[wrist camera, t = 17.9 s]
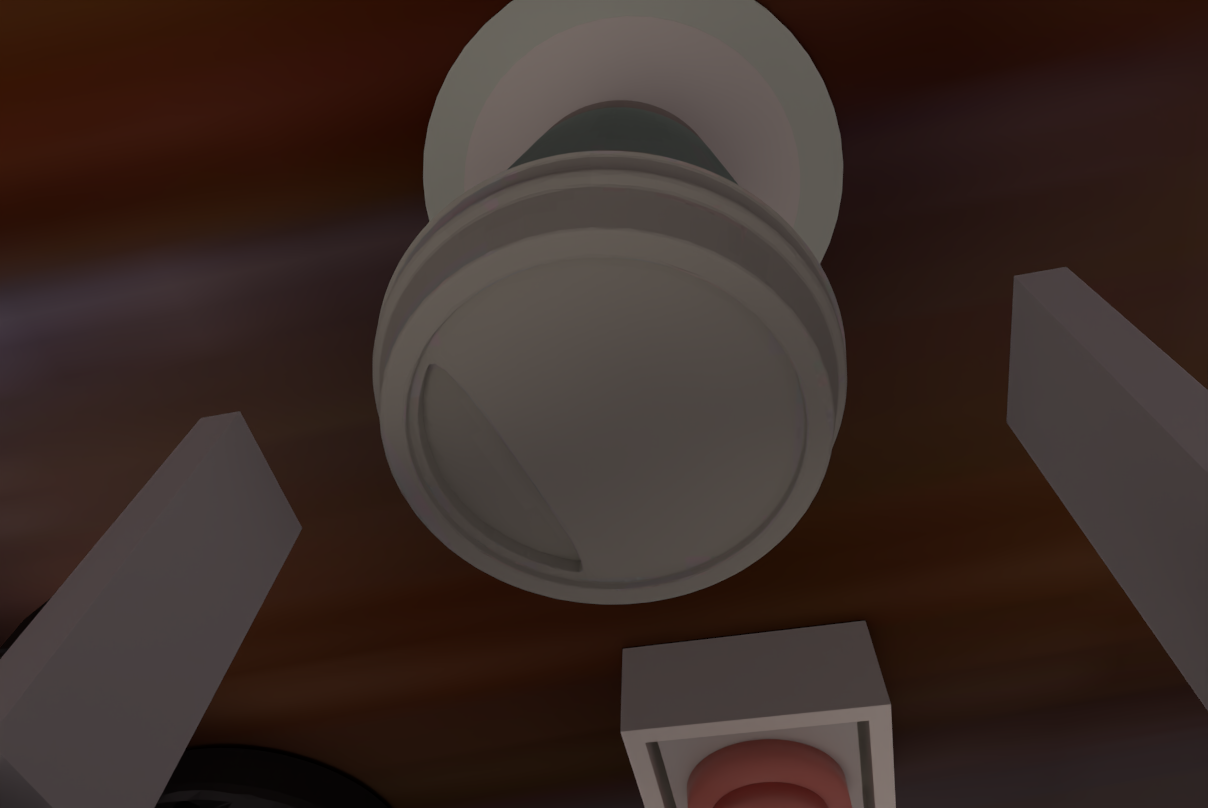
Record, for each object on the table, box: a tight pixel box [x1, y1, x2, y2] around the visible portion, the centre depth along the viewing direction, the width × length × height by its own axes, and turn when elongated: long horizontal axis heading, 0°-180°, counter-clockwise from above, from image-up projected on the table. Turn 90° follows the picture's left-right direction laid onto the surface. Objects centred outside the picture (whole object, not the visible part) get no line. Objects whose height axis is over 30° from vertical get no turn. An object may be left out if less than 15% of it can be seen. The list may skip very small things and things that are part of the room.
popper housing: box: [620, 621, 896, 808], centre depth 35 cm, size 10×10×4 cm
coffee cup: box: [373, 100, 847, 604], centre depth 18 cm, size 9×8×12 cm
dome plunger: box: [658, 722, 864, 808], centre depth 33 cm, size 8×8×5 cm
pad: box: [423, 0, 843, 264], centre depth 24 cm, size 12×12×1 cm
